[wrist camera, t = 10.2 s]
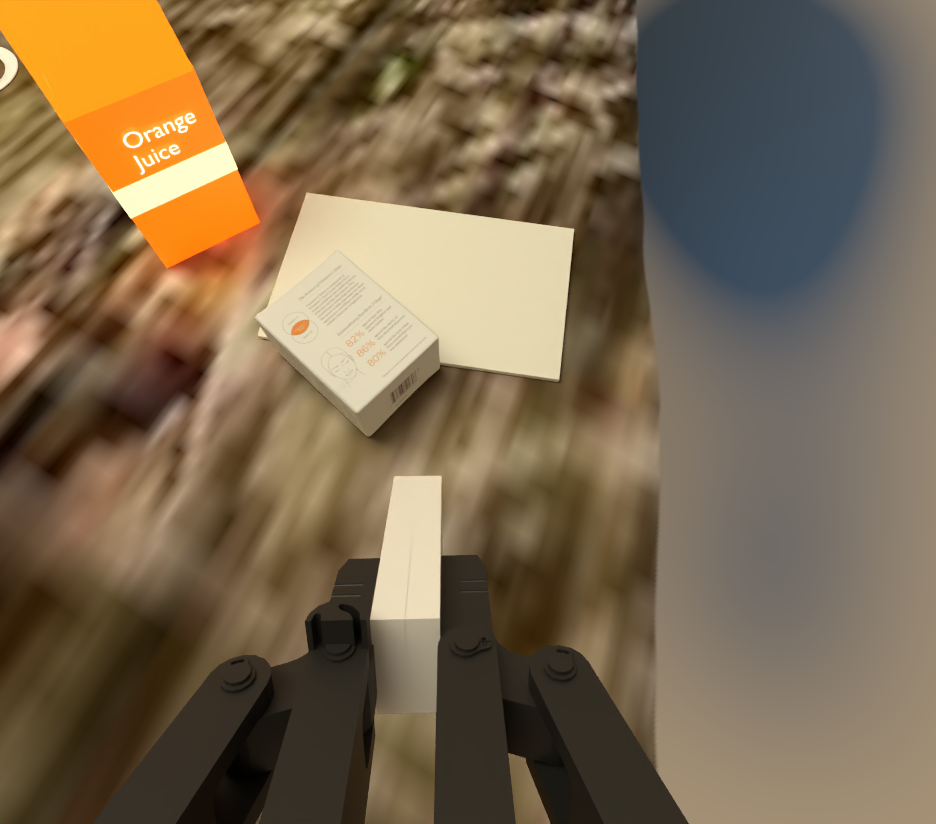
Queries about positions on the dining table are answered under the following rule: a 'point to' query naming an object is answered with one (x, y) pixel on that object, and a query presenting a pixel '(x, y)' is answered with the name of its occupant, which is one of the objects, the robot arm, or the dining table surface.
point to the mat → (450, 277)
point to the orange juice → (135, 116)
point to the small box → (352, 341)
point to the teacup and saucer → (8, 67)
